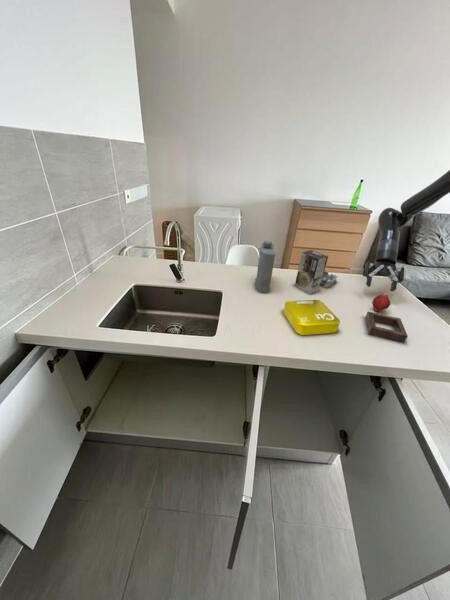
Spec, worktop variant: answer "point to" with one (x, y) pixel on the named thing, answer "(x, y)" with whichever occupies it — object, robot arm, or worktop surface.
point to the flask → (265, 266)
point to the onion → (381, 302)
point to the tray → (376, 331)
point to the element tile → (311, 317)
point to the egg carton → (328, 279)
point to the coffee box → (311, 271)
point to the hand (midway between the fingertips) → (380, 288)
